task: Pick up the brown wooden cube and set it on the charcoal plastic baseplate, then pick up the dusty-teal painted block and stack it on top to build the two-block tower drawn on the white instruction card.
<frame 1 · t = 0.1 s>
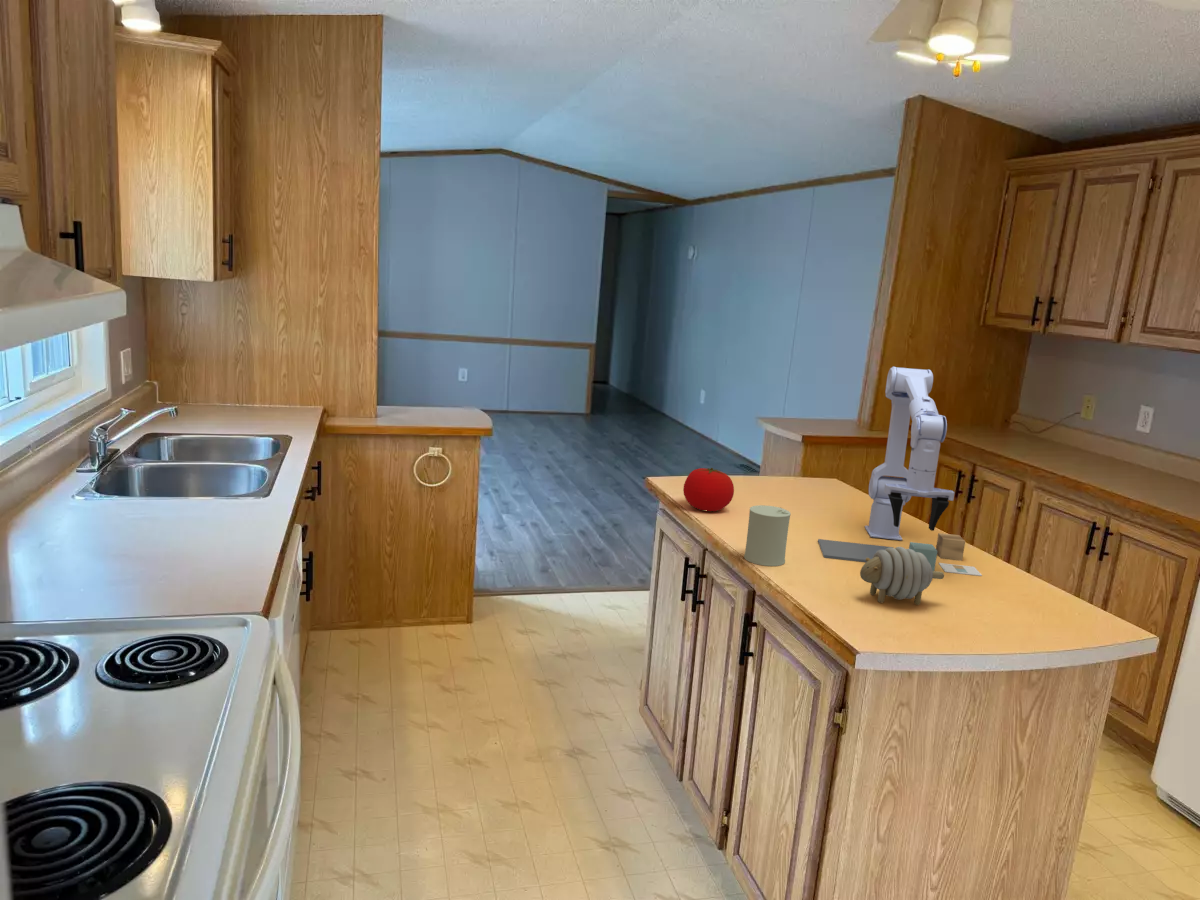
hand: (913, 527, 187), 10 cm above the counter, tool pointing down, fingers open, 7 cm apart
instruction card: (959, 569, 192), on the counter
teal block: (920, 567, 192), on the counter
tomato: (706, 509, 229), on the counter
baseplate: (859, 553, 199), on the counter
brown wooden cube: (948, 556, 202), on the counter
toy sheep: (897, 601, 169), on the counter
can: (764, 560, 189), on the counter
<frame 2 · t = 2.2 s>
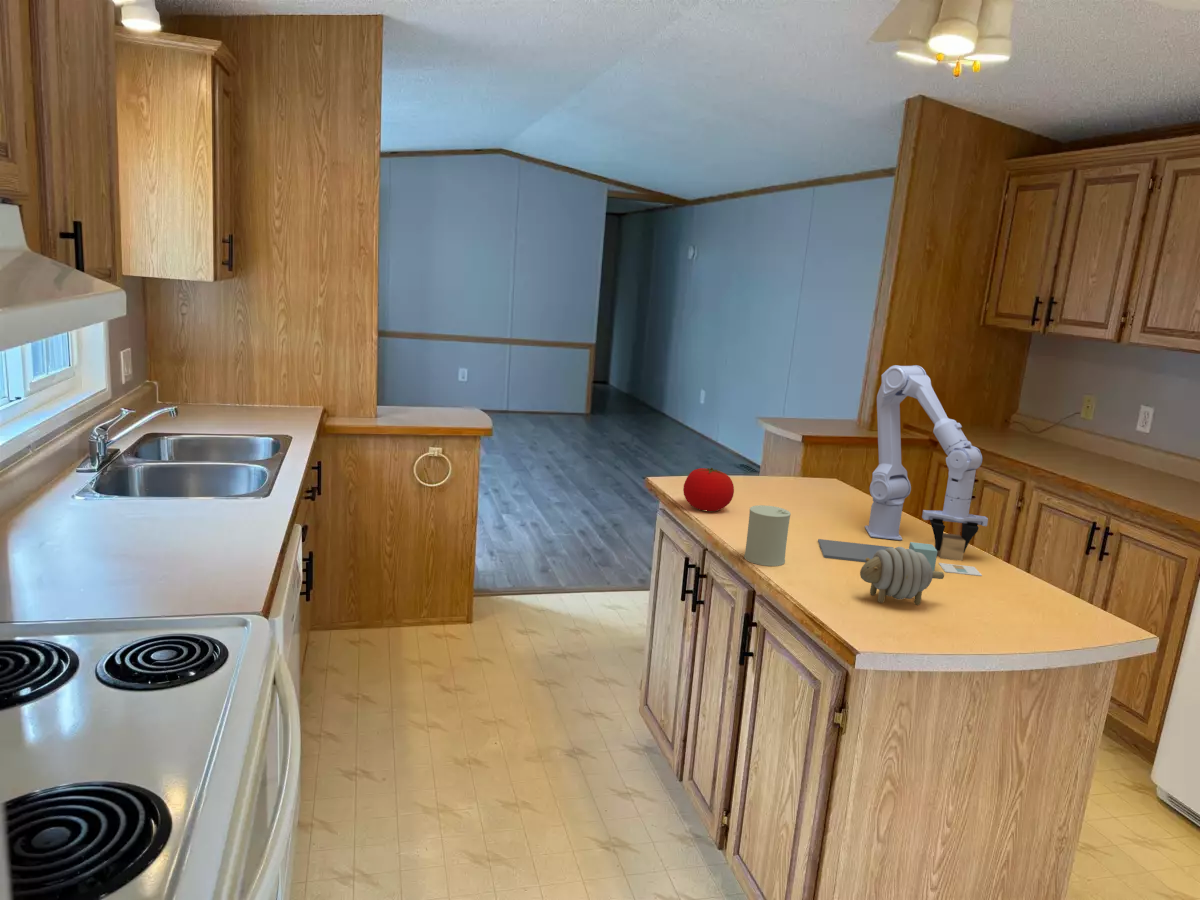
hand: (949, 550, 202), 1 cm above the counter, tool pointing down, fingers closed on brown wooden cube, 5 cm apart
brown wooden cube: (948, 556, 202), on the counter, touching gripper
everything else where it was.
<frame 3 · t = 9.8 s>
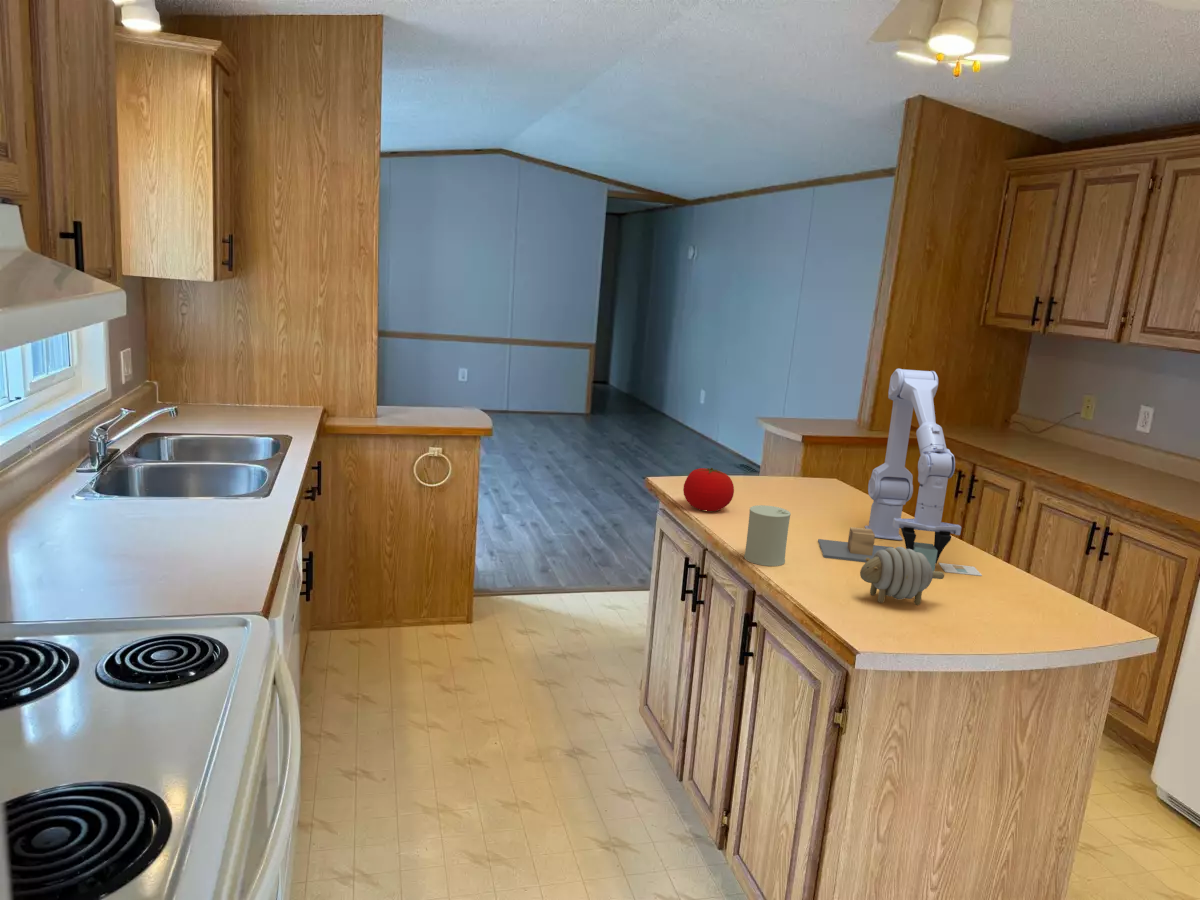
hand: (921, 560, 192), 1 cm above the counter, tool pointing down, fingers closed on teal block, 5 cm apart
teal block: (920, 566, 192), on the counter, touching gripper
brown wooden cube: (859, 551, 199), point 1 cm above the counter, touching baseplate
everything else where it was.
when the fingers open (8 cm above the counter, at t = 13.4 s): teal block stays where it is, resting on brown wooden cube.
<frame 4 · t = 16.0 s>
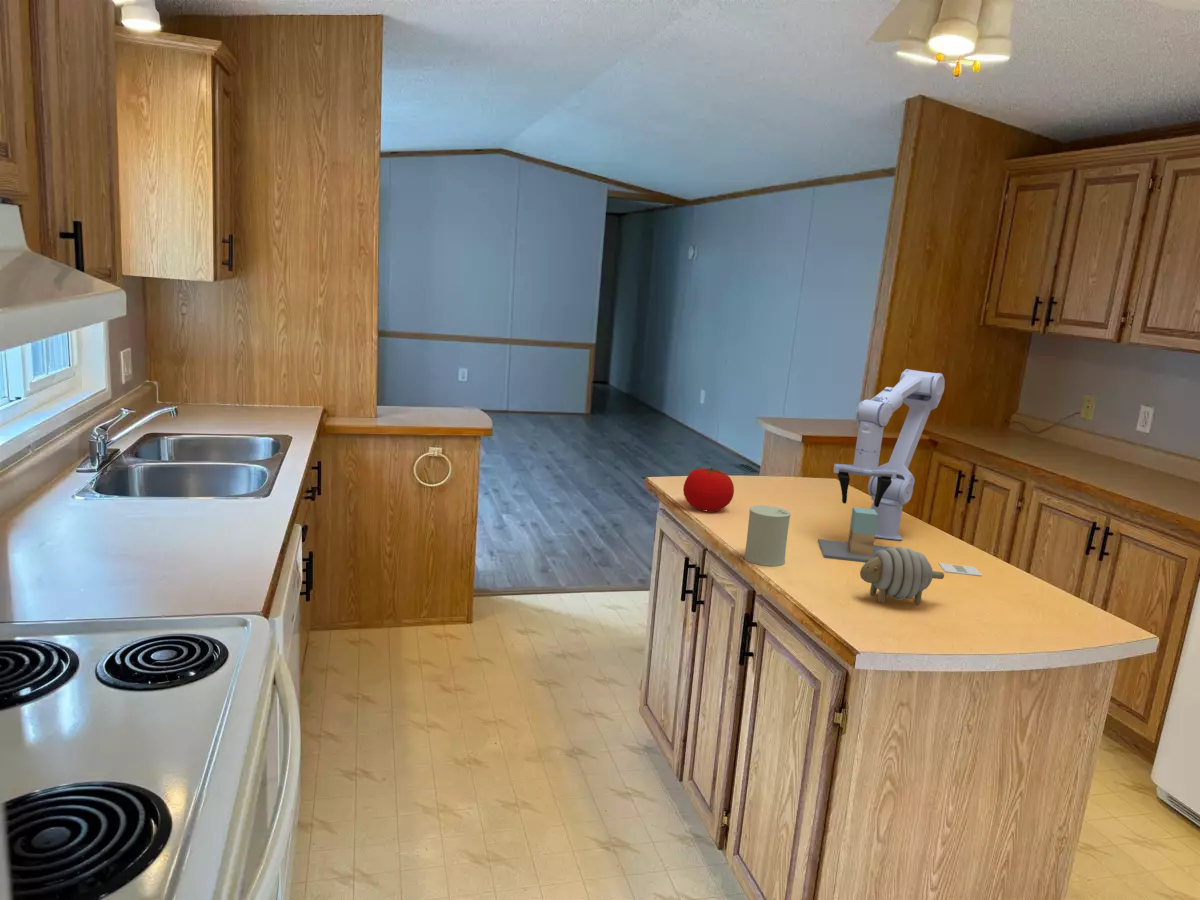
hand: (860, 504, 204), 10 cm above the counter, tool pointing down, fingers open, 7 cm apart
teal block: (862, 531, 198), point 6 cm above the counter, touching brown wooden cube
brown wooden cube: (859, 551, 199), point 1 cm above the counter, touching baseplate, teal block
everything else where it was.
at the end: brown wooden cube 0.1 cm off-centre on the baseplate, point 0.6 cm above the baseplate's base; teal block 0.0 cm off-centre on the brown wooden cube, point 5.0 cm above the brown wooden cube's base; teal block tilted 0° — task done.
